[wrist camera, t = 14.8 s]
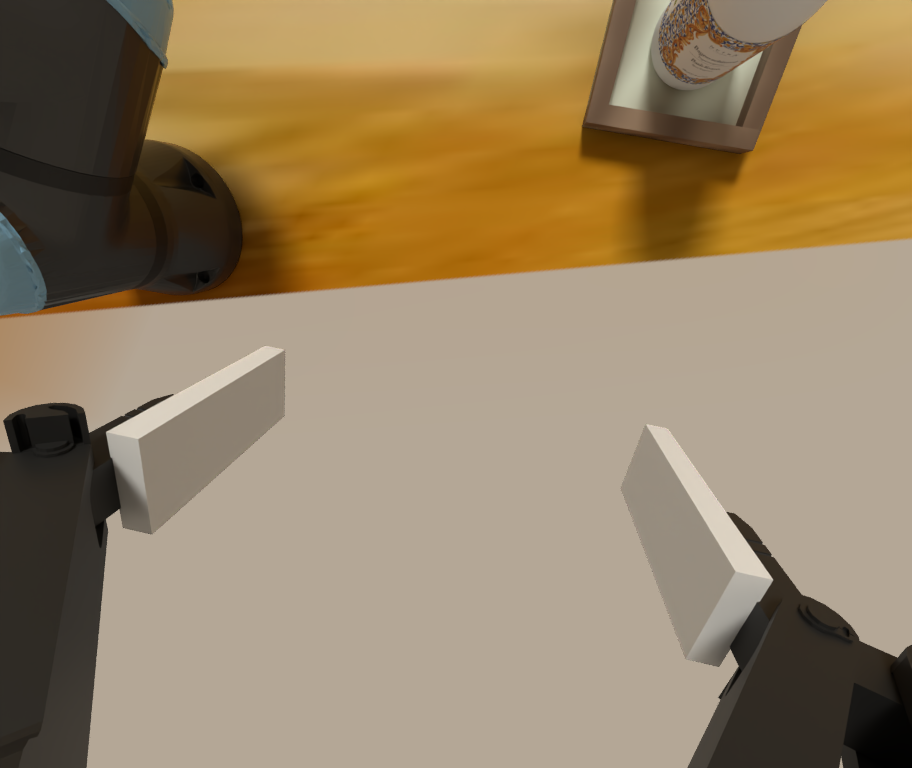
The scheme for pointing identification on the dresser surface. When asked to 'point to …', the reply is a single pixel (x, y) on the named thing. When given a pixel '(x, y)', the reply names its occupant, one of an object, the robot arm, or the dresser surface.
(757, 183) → the dresser surface
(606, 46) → the tray
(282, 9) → the dresser surface
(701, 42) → the bath foam
